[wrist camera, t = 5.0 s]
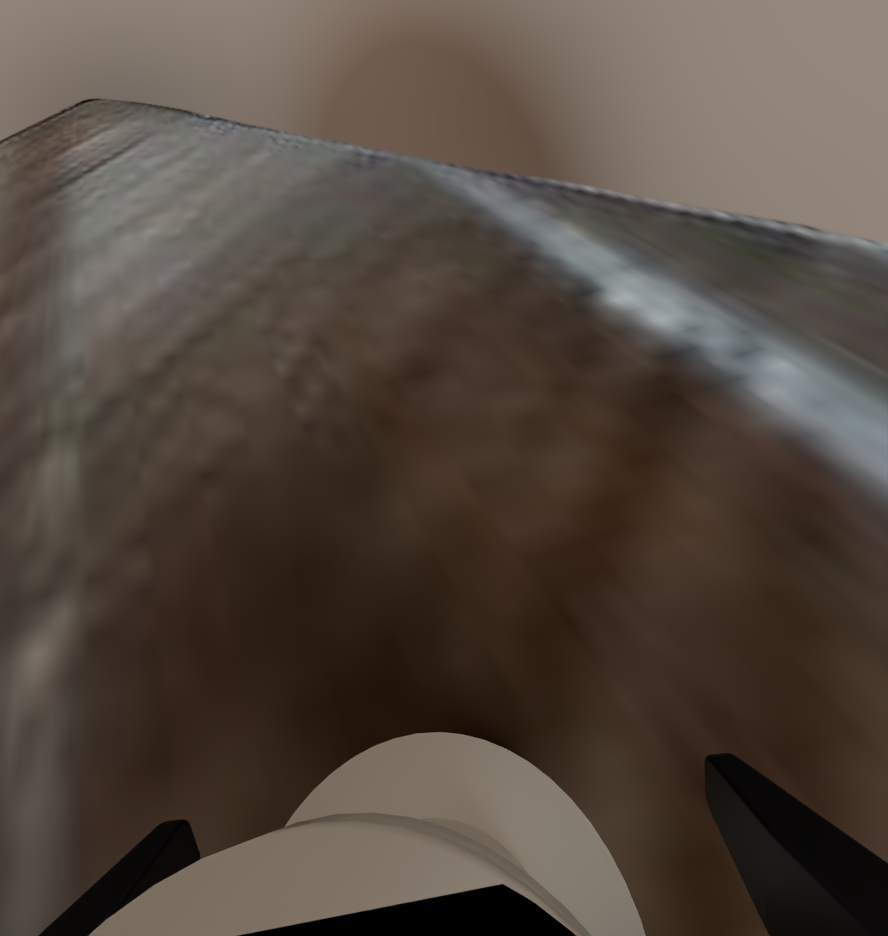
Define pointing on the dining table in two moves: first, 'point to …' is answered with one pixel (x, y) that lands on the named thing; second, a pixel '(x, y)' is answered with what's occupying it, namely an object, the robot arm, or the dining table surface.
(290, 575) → the dining table surface
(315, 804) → the vase
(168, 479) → the dining table surface
